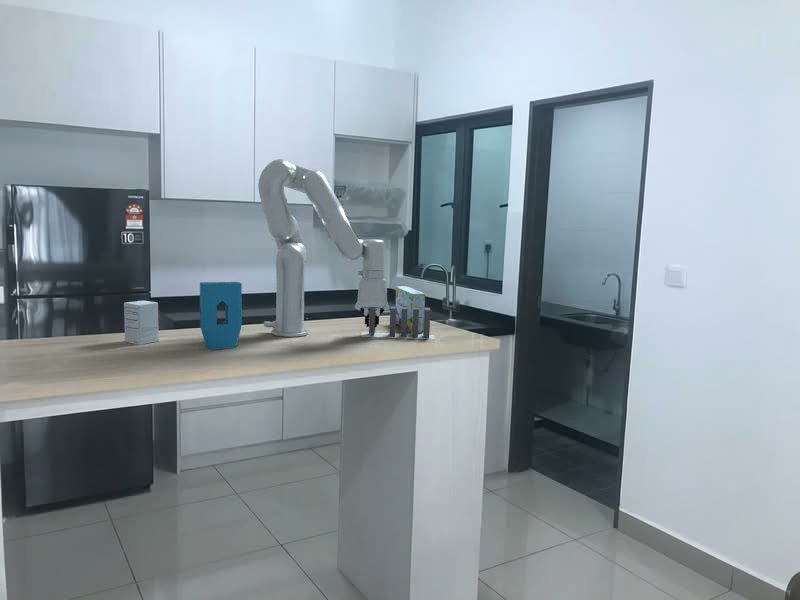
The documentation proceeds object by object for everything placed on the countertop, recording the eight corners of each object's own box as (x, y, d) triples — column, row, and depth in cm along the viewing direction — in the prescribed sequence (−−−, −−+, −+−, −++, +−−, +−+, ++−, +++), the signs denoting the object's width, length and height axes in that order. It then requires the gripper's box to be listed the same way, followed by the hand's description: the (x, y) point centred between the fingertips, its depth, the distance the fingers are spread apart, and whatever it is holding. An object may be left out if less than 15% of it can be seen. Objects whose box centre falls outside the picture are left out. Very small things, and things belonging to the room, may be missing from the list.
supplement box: (144, 338, 205) (143, 300, 203) (159, 341, 201) (158, 302, 199) (124, 342, 198) (123, 302, 197) (139, 345, 195) (138, 304, 193)
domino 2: (388, 336, 221) (389, 308, 219) (388, 333, 226) (389, 306, 224) (395, 336, 221) (396, 308, 219) (395, 334, 226) (396, 306, 224)
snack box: (393, 323, 250) (395, 286, 248) (407, 323, 252) (408, 286, 250) (410, 333, 230) (412, 292, 228) (425, 333, 232) (426, 292, 230)
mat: (360, 337, 219) (360, 336, 219) (362, 333, 227) (362, 332, 227) (435, 340, 219) (435, 339, 219) (434, 335, 227) (434, 334, 227)
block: (202, 349, 192) (201, 284, 189) (199, 346, 196) (199, 282, 194) (242, 347, 197) (242, 283, 194) (238, 344, 201) (238, 281, 199)
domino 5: (422, 337, 221) (423, 309, 219) (422, 335, 226) (423, 307, 224) (429, 338, 221) (430, 309, 219) (428, 335, 226) (429, 307, 224)
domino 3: (399, 337, 221) (400, 308, 219) (399, 334, 226) (400, 306, 224) (406, 337, 221) (407, 309, 219) (406, 334, 226) (407, 307, 224)
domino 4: (411, 337, 221) (412, 309, 219) (410, 334, 226) (412, 307, 224) (417, 337, 221) (418, 309, 219) (417, 335, 226) (418, 307, 224)
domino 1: (367, 333, 221) (368, 305, 219) (368, 330, 225) (369, 303, 224) (374, 333, 221) (375, 305, 219) (375, 331, 225) (375, 303, 224)
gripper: (349, 275, 217) (348, 327, 219) (395, 276, 217) (394, 329, 219) (351, 273, 224) (350, 324, 227) (396, 274, 224) (394, 325, 226)
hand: (371, 326), depth 223 cm, fingers closed on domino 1, 2 cm apart
